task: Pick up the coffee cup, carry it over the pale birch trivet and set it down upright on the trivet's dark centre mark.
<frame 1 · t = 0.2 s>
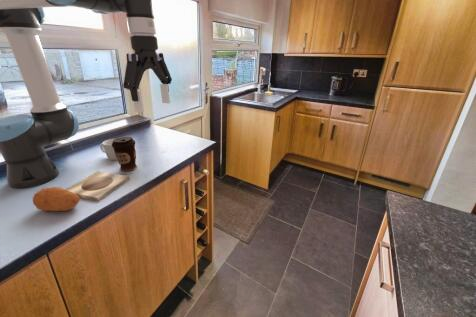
hand: (153, 107, 78), 28 cm above the counter, fingers open, 13 cm apart
cup: (113, 158, 107), on the counter
potato: (60, 209, 73), on the counter
coffee cup: (128, 168, 98), on the counter
trivet: (98, 186, 85), on the counter
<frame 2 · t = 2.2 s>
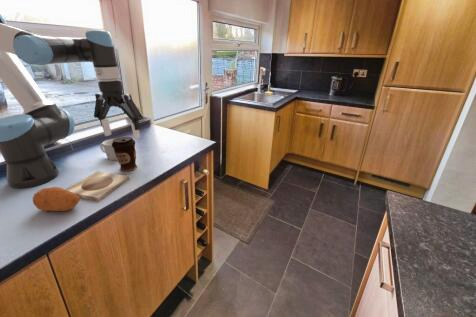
hand: (122, 136, 92), 14 cm above the counter, fingers open, 13 cm apart
nothing on the counter moved.
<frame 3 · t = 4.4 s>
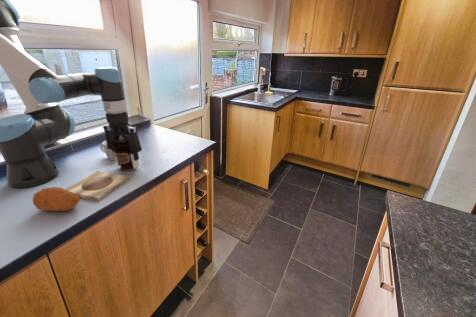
hand: (128, 165, 97), 1 cm above the counter, fingers closed on coffee cup, 7 cm apart
coffee cup: (128, 168, 98), on the counter, touching gripper
everything else where it was.
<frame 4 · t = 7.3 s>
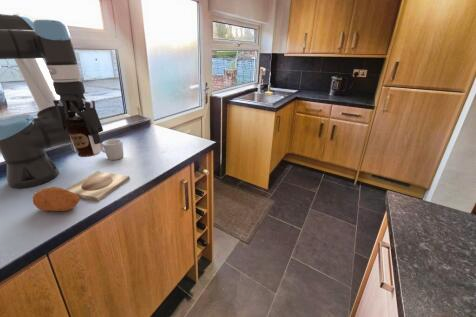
hand: (88, 151, 79), 14 cm above the counter, fingers closed on coffee cup, 7 cm apart
coffee cup: (89, 154, 79), point 13 cm above the counter, touching gripper
everything else where it was.
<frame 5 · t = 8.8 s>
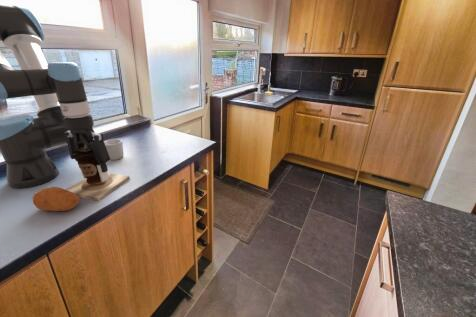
hand: (96, 178, 83), 3 cm above the counter, fingers closed on coffee cup, 7 cm apart
coffee cup: (97, 181, 84), point 2 cm above the counter, touching gripper
everything else where it was.
when the fingers open (3 cm above the counter, at t = 10.1 s): coffee cup stays where it is, resting on trivet.
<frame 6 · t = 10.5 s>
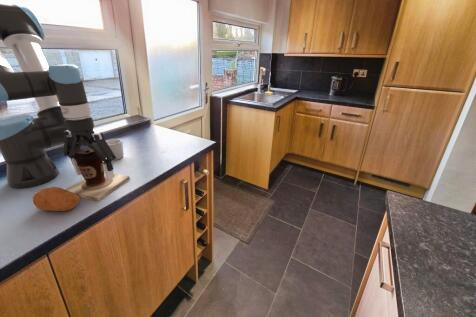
hand: (95, 176, 83), 4 cm above the counter, fingers open, 12 cm apart
coffee cup: (96, 183, 84), point 1 cm above the counter, touching trivet
everything else where it was.
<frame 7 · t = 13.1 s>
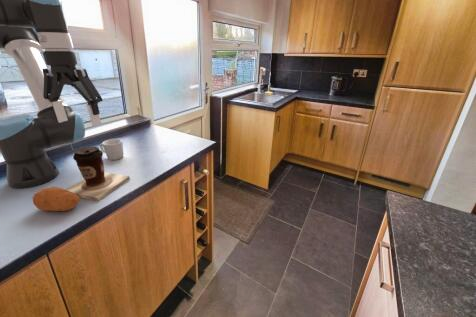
hand: (79, 123, 75), 24 cm above the counter, fingers open, 13 cm apart
nothing on the counter moved.
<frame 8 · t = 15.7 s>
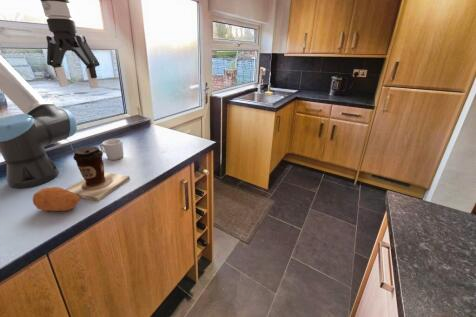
hand: (79, 87, 84), 33 cm above the counter, fingers open, 13 cm apart
nothing on the counter moved.
at the end: coffee cup 0.5 cm from the trivet (horizontally); coffee cup tilted 0°; coffee cup touching trivet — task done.
